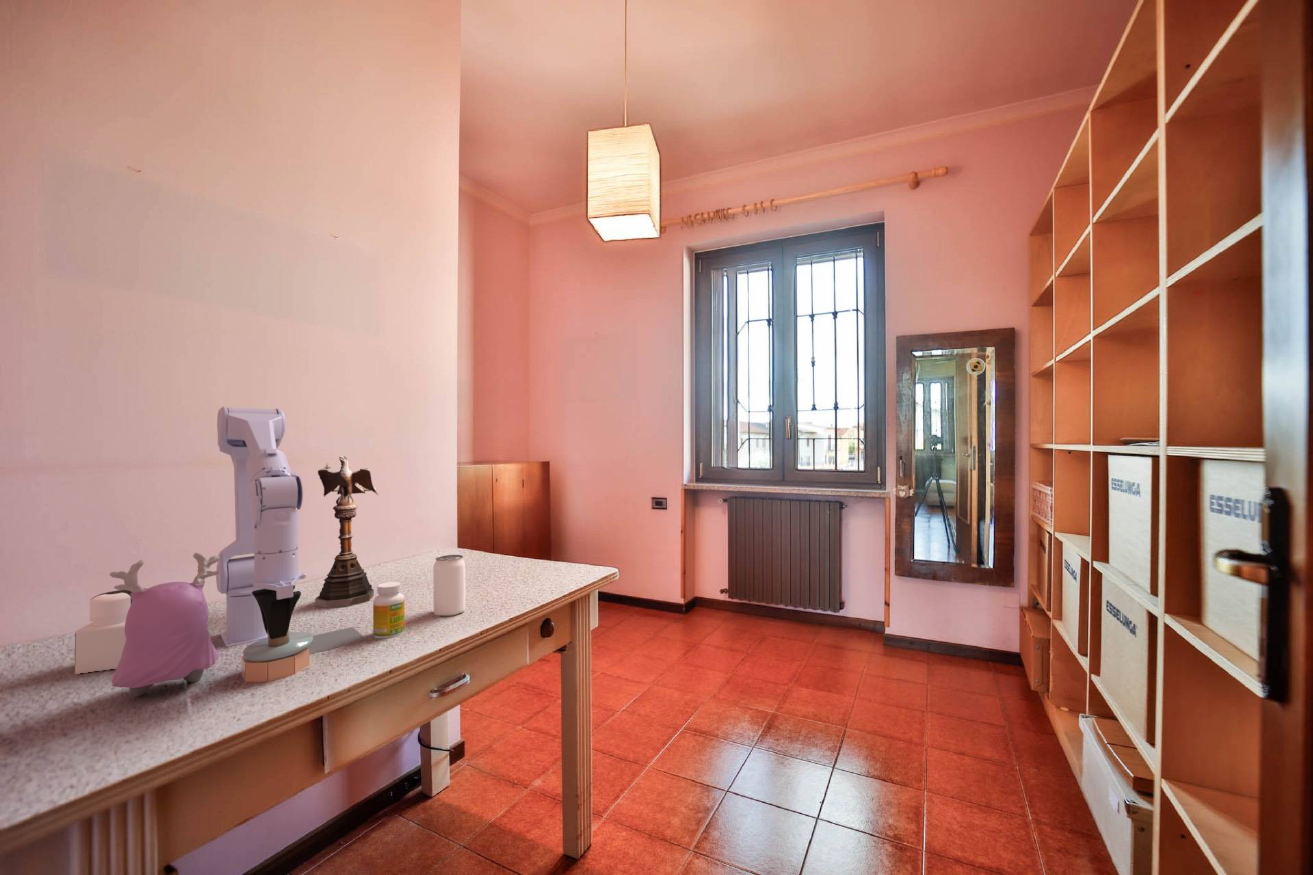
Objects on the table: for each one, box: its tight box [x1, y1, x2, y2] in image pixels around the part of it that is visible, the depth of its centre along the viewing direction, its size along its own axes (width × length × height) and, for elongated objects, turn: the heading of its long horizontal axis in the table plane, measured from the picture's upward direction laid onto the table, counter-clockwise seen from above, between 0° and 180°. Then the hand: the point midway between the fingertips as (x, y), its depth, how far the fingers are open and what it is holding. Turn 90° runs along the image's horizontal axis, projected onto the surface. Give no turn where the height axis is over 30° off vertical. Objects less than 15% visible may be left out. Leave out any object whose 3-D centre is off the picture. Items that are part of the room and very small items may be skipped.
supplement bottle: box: [372, 581, 406, 639], centre depth 100 cm, size 5×5×10 cm
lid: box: [242, 628, 314, 661], centre depth 84 cm, size 9×9×4 cm
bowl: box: [241, 647, 310, 683], centre depth 84 cm, size 8×8×3 cm
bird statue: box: [314, 455, 379, 609], centre depth 126 cm, size 17×13×35 cm
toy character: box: [109, 552, 220, 698], centre depth 79 cm, size 12×10×20 cm
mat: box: [309, 626, 368, 656], centre depth 97 cm, size 10×10×1 cm
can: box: [432, 554, 466, 618], centre depth 114 cm, size 6×6×12 cm
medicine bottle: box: [74, 590, 132, 675], centre depth 88 cm, size 7×7×12 cm
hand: (276, 634), depth 84 cm, fingers closed on lid, 3 cm apart
